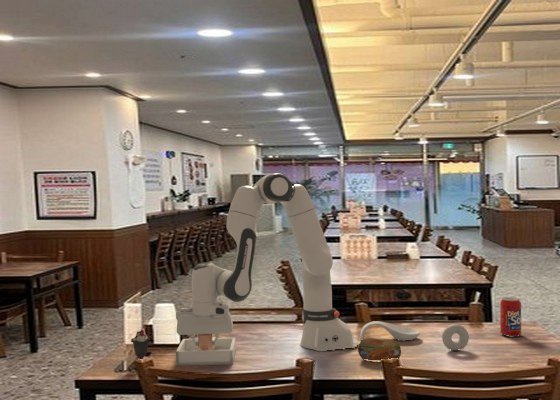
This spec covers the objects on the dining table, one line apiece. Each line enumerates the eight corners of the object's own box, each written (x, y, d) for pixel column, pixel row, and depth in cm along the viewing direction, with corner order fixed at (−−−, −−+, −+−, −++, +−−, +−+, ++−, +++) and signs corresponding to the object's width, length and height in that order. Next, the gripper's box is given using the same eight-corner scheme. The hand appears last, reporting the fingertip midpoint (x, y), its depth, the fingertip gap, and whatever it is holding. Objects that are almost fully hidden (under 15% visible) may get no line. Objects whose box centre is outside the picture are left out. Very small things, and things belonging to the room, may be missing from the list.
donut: (466, 348, 215) (466, 322, 215) (470, 351, 212) (470, 324, 211) (440, 350, 214) (440, 323, 214) (444, 352, 211) (443, 326, 210)
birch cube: (215, 349, 217) (215, 336, 217) (214, 354, 212) (214, 340, 212) (202, 350, 217) (202, 337, 217) (200, 354, 212) (200, 341, 212)
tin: (357, 361, 204) (357, 337, 204) (360, 358, 207) (359, 335, 207) (400, 365, 199) (400, 341, 198) (402, 362, 201) (401, 338, 201)
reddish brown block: (213, 350, 210) (212, 331, 210) (211, 355, 205) (211, 335, 205) (199, 351, 210) (199, 332, 210) (197, 355, 205) (197, 336, 205)
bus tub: (235, 350, 219) (235, 337, 219) (232, 364, 203) (232, 350, 203) (183, 351, 219) (183, 338, 219) (176, 365, 203) (175, 351, 203)
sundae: (146, 371, 198) (145, 328, 198) (128, 370, 200) (127, 327, 199) (154, 364, 205) (153, 323, 204) (137, 364, 206) (135, 322, 205)
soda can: (503, 331, 237) (503, 295, 236) (523, 334, 232) (523, 297, 231) (498, 336, 230) (497, 299, 230) (518, 339, 226) (518, 301, 225)
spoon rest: (417, 335, 235) (416, 317, 235) (422, 343, 223) (422, 325, 223) (358, 335, 236) (358, 318, 236) (361, 344, 224) (361, 326, 224)
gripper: (174, 310, 204) (175, 349, 204) (231, 309, 204) (232, 347, 205) (177, 306, 210) (178, 343, 211) (233, 305, 210) (233, 342, 211)
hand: (205, 345), depth 208 cm, fingers closed on reddish brown block, 5 cm apart
